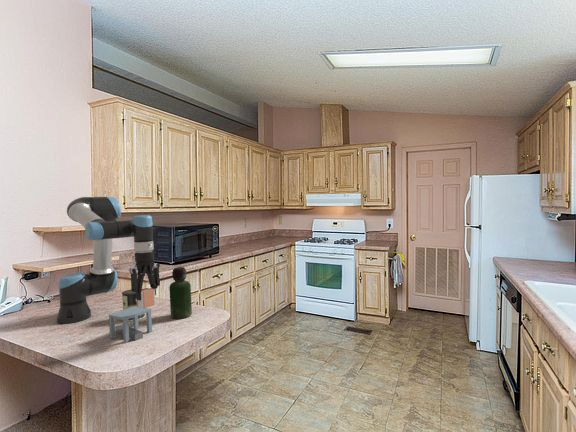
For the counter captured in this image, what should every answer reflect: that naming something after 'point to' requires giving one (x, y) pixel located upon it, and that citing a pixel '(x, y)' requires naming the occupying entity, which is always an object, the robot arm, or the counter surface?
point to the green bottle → (180, 295)
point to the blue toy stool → (124, 316)
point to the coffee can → (130, 302)
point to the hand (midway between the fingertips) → (146, 305)
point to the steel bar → (130, 332)
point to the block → (148, 297)
